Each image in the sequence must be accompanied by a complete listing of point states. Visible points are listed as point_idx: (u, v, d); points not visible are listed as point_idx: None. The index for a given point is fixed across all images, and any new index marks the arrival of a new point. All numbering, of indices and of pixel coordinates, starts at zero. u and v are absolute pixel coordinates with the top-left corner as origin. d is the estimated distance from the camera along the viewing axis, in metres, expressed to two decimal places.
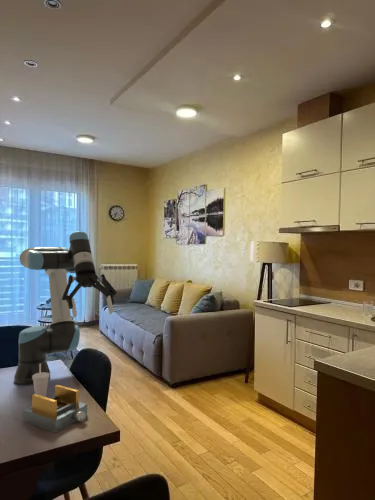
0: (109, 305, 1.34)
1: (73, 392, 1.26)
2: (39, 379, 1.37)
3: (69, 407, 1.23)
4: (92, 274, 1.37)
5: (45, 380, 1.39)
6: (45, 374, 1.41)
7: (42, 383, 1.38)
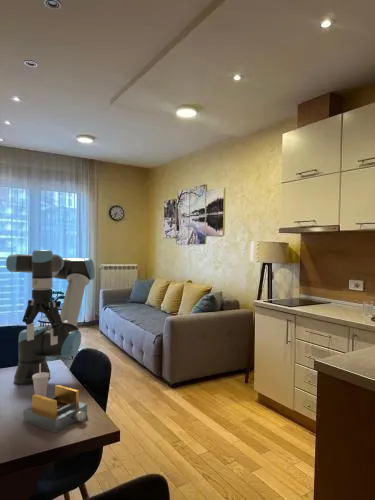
0: None
1: (73, 392, 1.26)
2: (39, 379, 1.37)
3: (69, 407, 1.23)
4: (43, 301, 1.38)
5: (45, 380, 1.39)
6: (45, 374, 1.41)
7: (42, 383, 1.38)
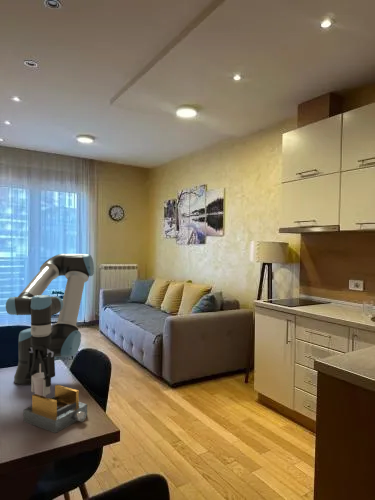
0: None
1: (73, 392, 1.26)
2: (39, 379, 1.37)
3: (69, 407, 1.23)
4: (43, 347, 1.38)
5: None
6: None
7: (42, 383, 1.38)
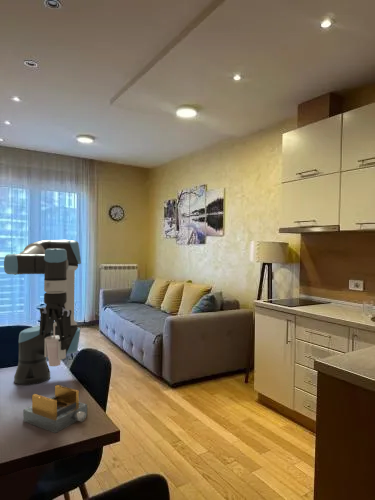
0: None
1: (73, 392, 1.26)
2: (53, 341, 1.22)
3: (69, 407, 1.23)
4: (57, 305, 1.23)
5: None
6: None
7: (57, 346, 1.23)
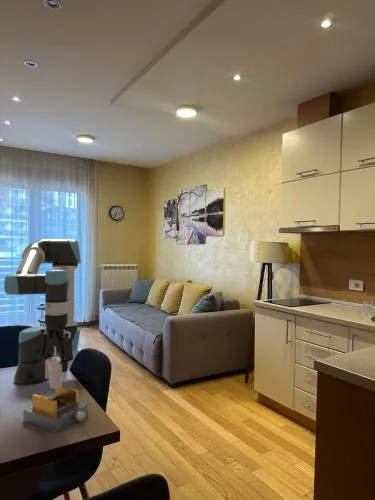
0: None
1: (73, 392, 1.26)
2: (54, 363, 1.21)
3: (69, 407, 1.23)
4: (58, 327, 1.22)
5: None
6: None
7: (58, 368, 1.22)
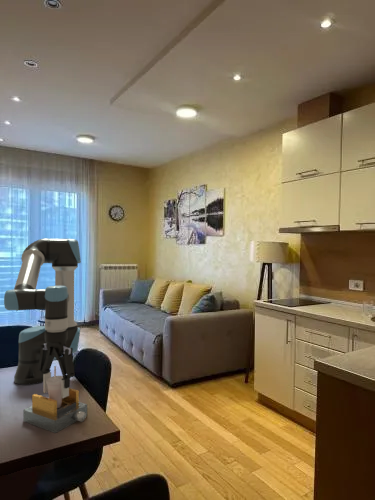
0: None
1: (73, 392, 1.26)
2: (54, 384, 1.21)
3: (69, 407, 1.23)
4: (58, 344, 1.22)
5: None
6: (61, 378, 1.25)
7: (58, 388, 1.22)
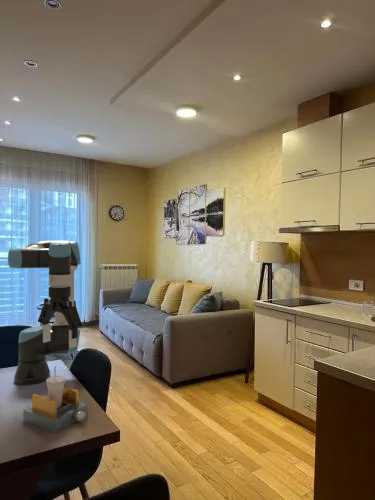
0: None
1: (73, 392, 1.26)
2: (54, 384, 1.21)
3: (69, 407, 1.23)
4: (61, 300, 1.26)
5: (61, 385, 1.23)
6: (60, 378, 1.25)
7: (58, 388, 1.22)
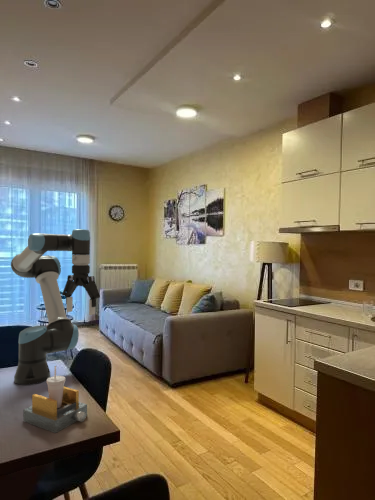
0: None
1: (73, 392, 1.26)
2: (55, 384, 1.22)
3: (69, 407, 1.23)
4: (82, 275, 1.52)
5: (61, 385, 1.23)
6: (61, 378, 1.25)
7: (58, 388, 1.22)
